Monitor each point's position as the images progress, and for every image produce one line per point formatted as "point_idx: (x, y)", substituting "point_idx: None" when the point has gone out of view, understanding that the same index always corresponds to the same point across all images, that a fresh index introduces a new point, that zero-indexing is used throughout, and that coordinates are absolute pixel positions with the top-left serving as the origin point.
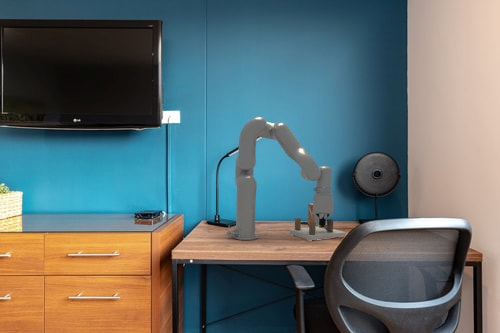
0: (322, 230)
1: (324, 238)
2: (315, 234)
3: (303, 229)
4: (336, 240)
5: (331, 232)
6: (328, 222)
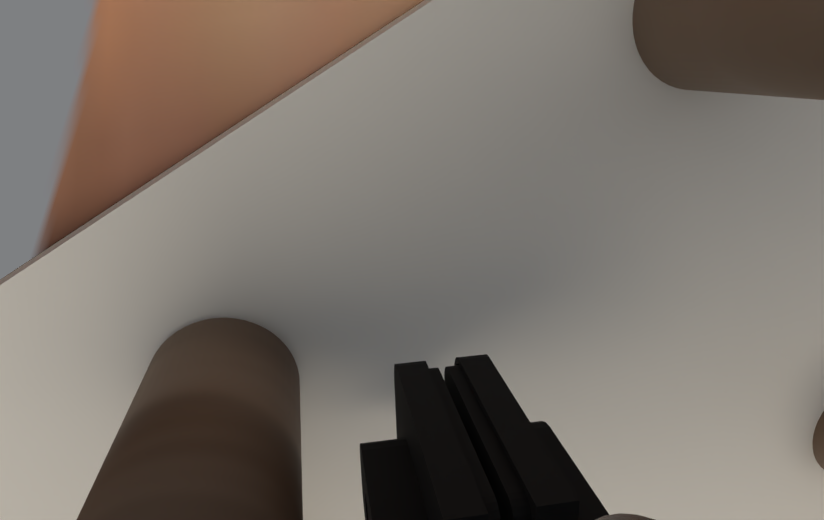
0: None
1: (389, 24)
2: (625, 25)
3: (749, 485)
4: (104, 10)
5: None
6: (259, 482)
